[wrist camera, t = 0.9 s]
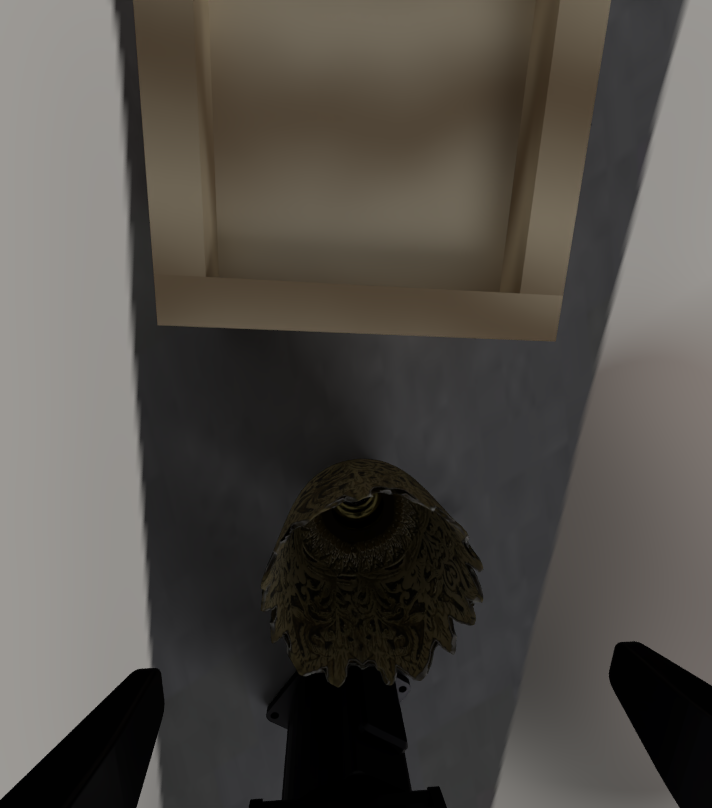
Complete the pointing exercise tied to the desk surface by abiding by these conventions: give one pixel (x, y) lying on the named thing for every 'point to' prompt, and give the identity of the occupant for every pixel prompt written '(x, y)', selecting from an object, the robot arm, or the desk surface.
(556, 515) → the desk surface
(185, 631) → the desk surface
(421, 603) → the cup
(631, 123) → the desk surface
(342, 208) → the wooden box
